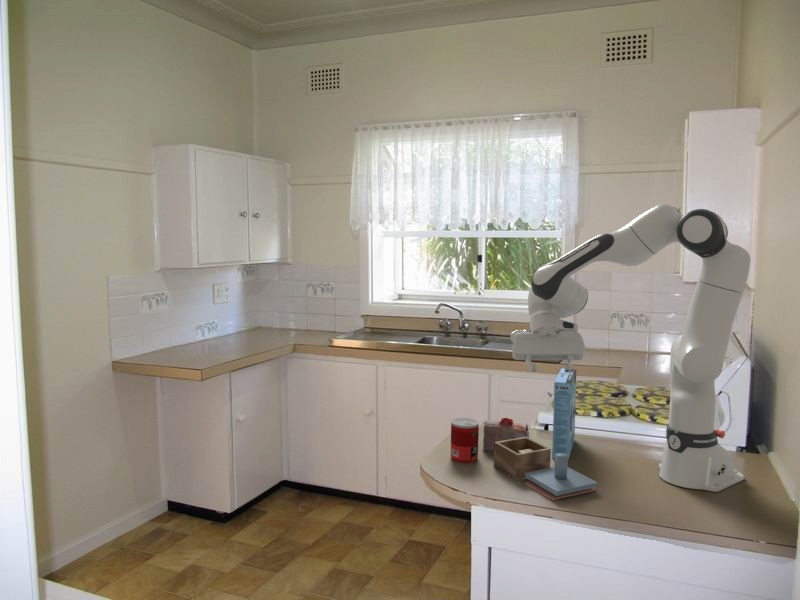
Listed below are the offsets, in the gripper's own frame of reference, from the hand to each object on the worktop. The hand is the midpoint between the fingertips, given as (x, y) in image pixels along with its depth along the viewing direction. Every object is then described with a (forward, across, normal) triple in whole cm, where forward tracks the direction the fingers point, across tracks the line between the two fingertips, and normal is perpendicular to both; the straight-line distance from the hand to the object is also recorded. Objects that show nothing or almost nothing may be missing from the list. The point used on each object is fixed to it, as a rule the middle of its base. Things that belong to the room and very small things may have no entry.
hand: (550, 371), depth 181 cm
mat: (+30, +1, +9) cm, 31 cm away
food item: (+11, -11, +28) cm, 32 cm away
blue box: (+9, +6, +30) cm, 32 cm away
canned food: (+16, -24, +22) cm, 36 cm away
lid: (+29, +1, +9) cm, 31 cm away
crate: (+22, -8, +17) cm, 29 cm away
